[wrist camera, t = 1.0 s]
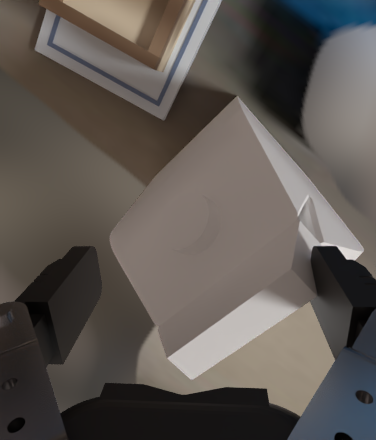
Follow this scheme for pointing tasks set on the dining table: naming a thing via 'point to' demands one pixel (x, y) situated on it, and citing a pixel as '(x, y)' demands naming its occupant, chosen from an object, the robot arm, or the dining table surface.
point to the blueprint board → (127, 59)
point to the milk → (225, 240)
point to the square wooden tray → (129, 24)
